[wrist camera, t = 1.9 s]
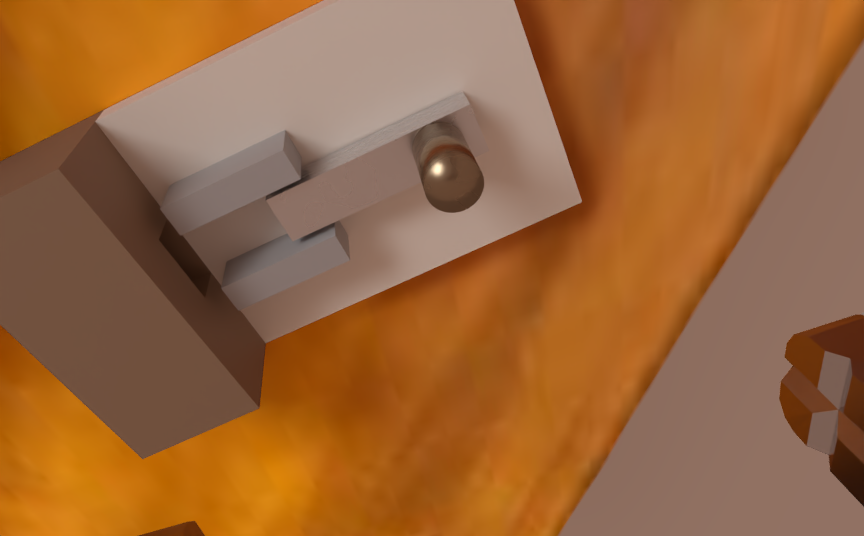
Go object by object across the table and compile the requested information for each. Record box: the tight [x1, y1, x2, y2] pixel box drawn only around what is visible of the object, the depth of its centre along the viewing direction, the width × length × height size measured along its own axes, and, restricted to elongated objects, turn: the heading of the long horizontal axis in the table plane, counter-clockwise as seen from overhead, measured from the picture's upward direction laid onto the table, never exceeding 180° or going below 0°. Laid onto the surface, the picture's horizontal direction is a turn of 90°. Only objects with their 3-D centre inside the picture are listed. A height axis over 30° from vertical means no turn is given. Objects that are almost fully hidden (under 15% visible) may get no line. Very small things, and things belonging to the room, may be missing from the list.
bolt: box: [266, 91, 489, 241], centre depth 29 cm, size 10×2×6 cm, turn 113°
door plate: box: [0, 0, 582, 459], centre depth 31 cm, size 25×14×6 cm, turn 113°
